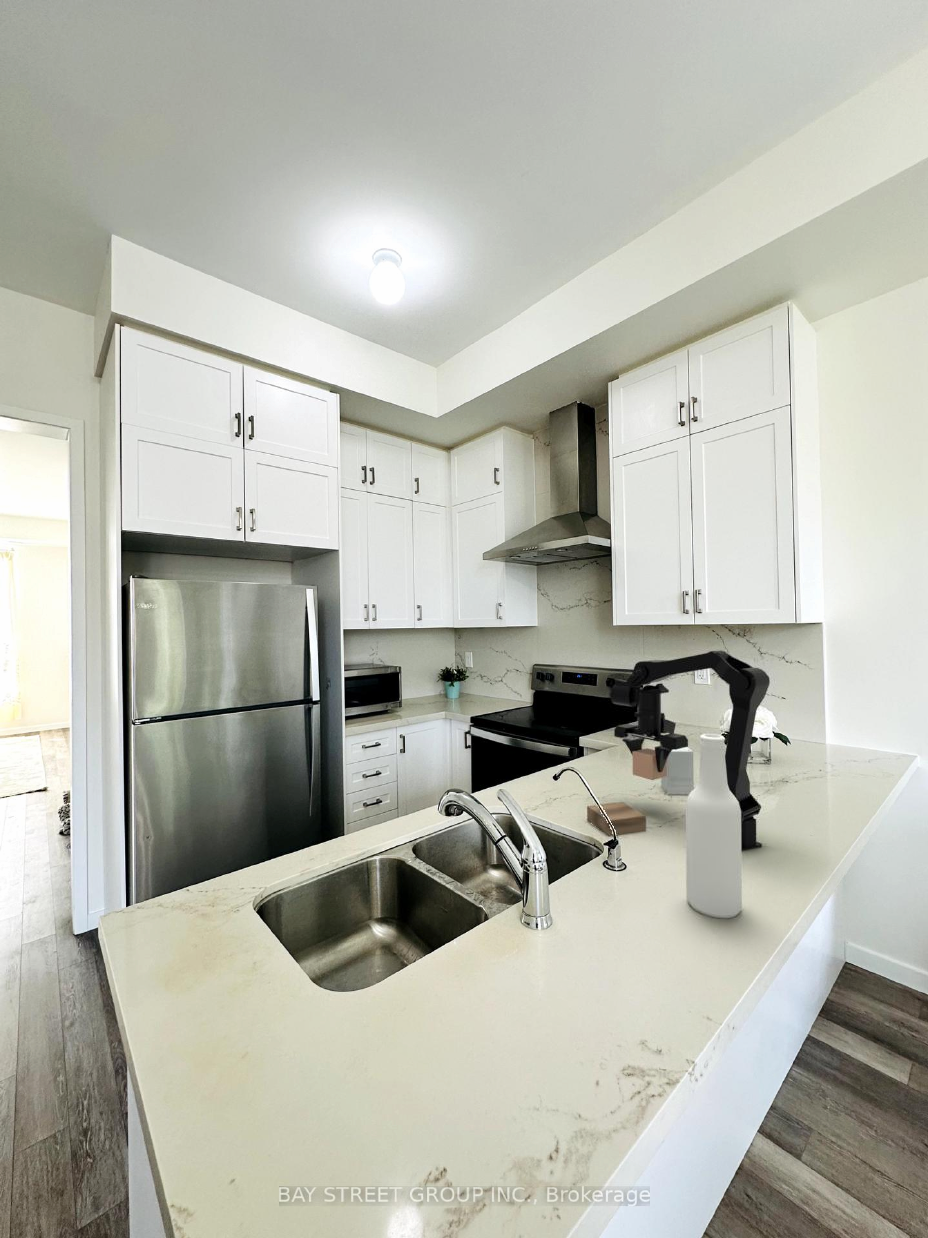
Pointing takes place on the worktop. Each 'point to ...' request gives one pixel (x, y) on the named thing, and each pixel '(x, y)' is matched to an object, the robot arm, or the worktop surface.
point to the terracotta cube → (647, 764)
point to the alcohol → (713, 837)
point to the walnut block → (617, 818)
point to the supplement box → (679, 772)
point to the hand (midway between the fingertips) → (649, 769)
